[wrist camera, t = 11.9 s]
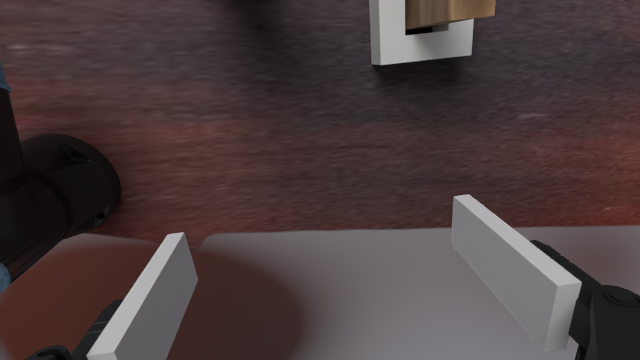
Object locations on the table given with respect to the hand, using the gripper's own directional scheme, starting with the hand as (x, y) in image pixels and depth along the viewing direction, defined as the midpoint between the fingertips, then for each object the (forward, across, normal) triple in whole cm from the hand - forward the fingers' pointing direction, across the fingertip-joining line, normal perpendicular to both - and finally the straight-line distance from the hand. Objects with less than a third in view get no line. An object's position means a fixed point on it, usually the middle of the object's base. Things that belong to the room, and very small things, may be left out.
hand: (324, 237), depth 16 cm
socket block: (+35, +17, +12) cm, 40 cm away
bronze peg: (+35, +17, +12) cm, 40 cm away
